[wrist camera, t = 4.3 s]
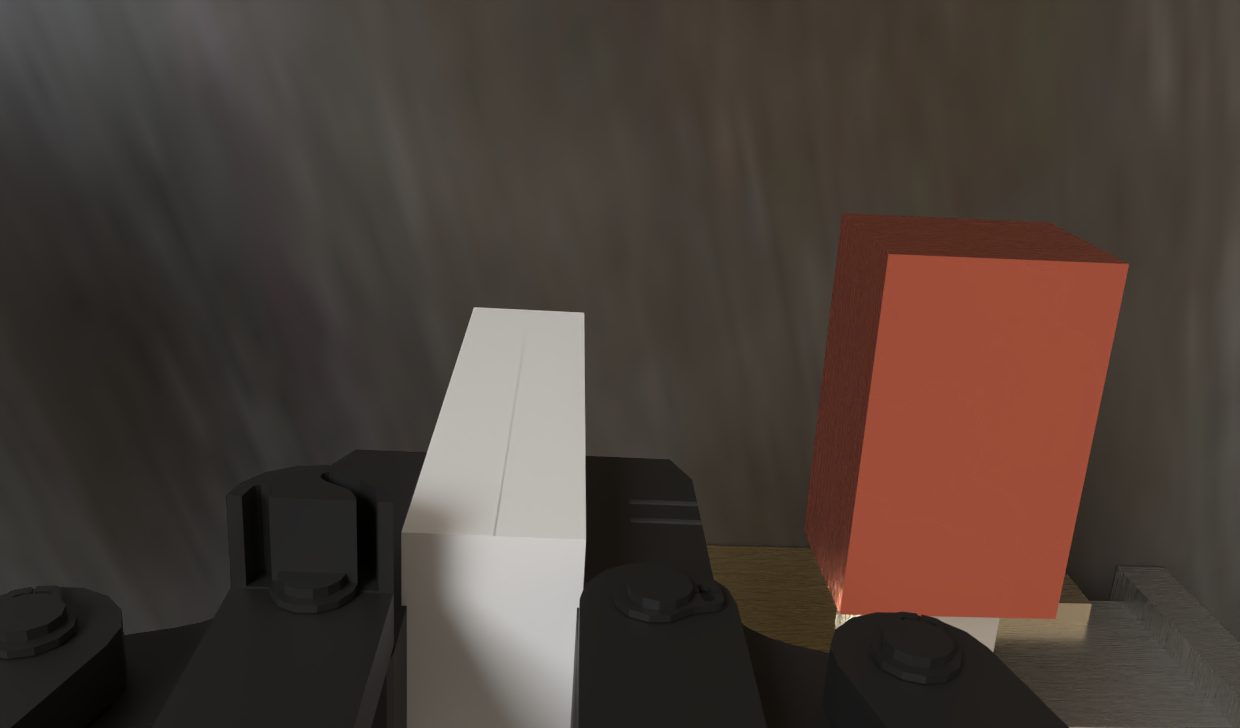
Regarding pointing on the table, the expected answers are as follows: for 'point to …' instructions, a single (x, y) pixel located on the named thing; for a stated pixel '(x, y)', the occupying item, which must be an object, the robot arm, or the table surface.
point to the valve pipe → (1041, 641)
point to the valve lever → (957, 415)
